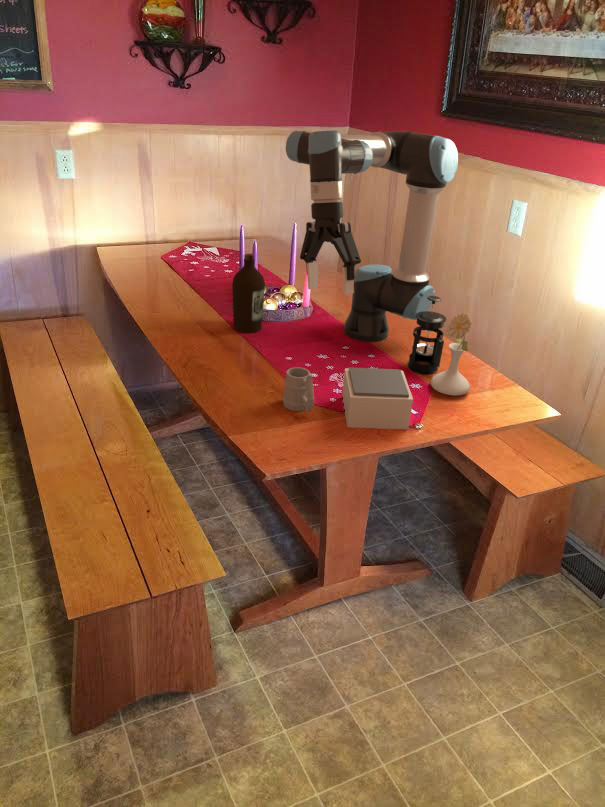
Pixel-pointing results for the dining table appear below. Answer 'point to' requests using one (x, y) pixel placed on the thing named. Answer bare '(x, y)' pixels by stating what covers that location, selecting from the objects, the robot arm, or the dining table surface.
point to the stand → (376, 398)
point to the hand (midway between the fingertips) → (330, 291)
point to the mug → (298, 390)
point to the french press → (424, 350)
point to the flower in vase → (454, 359)
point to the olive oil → (248, 297)
